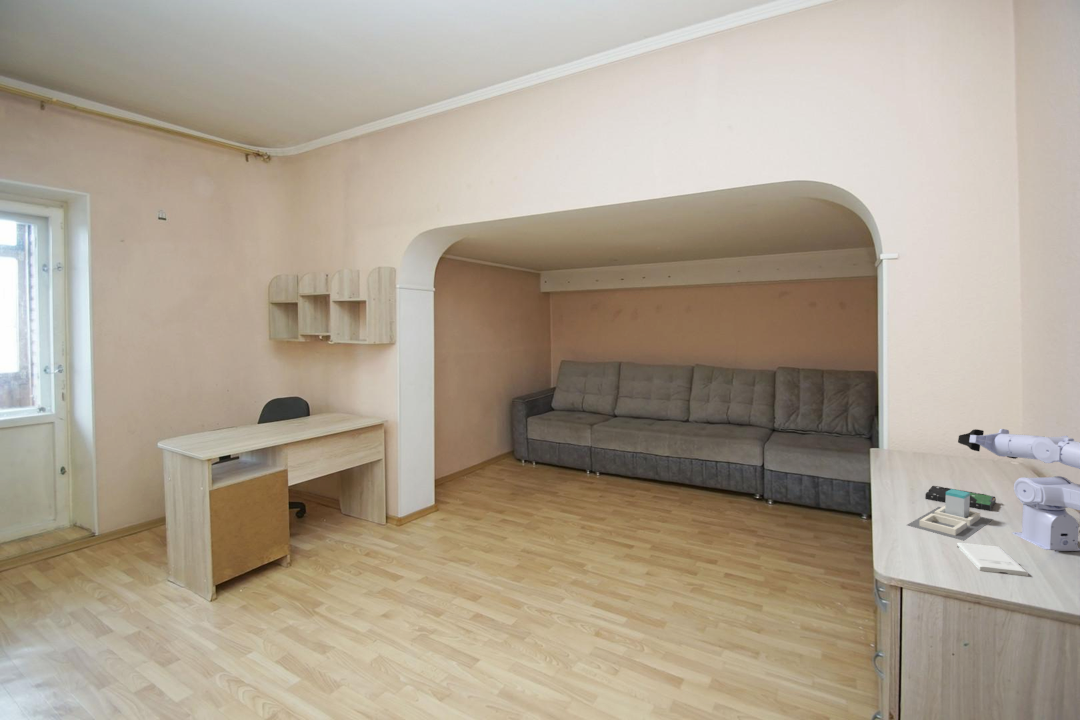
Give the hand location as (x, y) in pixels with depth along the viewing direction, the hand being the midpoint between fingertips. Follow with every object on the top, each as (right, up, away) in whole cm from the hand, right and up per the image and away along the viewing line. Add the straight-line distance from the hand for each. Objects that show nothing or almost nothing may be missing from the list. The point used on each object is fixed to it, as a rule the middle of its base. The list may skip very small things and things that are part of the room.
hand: (973, 442), depth 141 cm
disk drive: (+3, -20, +8) cm, 21 cm away
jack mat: (-12, -20, -7) cm, 25 cm away
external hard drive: (-19, -23, -27) cm, 40 cm away
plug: (-8, -20, -4) cm, 22 cm away
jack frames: (-12, -20, -7) cm, 25 cm away
